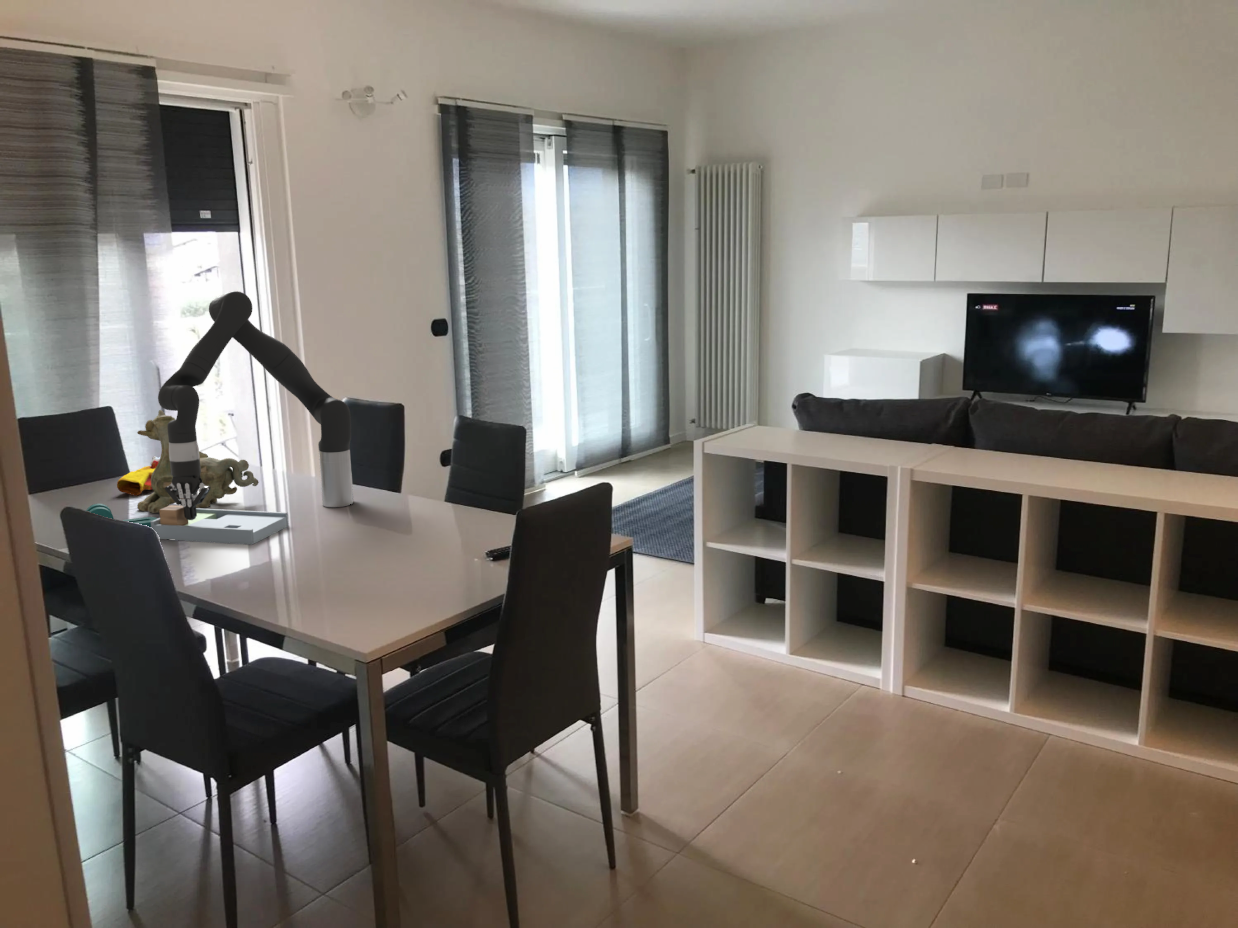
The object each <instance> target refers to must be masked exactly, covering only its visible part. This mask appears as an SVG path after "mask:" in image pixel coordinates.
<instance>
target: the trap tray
mask: <svg viewBox="0 0 1238 928" xmlns="http://www.w3.org/2000/svg"><path fill="white" fill-rule="evenodd" d="M196 512H197V516H196V518H195V519H194V520H188V524H186V525H184V526H181V525H162V524H161V522H160V517H158V518H157V519H155V520H153V521H151V527H152V528H153V529H154V530H155V531H156V532H157V534H158V535H159V537H160V539H175V540H174V541H178V540H185V542H198V543H201V542H202V543H214V542H215V544H217V543H219V544H235V545H249V546H250V545H254V544H256V543H257V542H260V541H262V540H264V539H266V538H268V537H269V536H271V535H274V534H276V533H277V532H280V531H282V530H284V529H285V528H287V527H289V515H288V512H284V511H263V510H259V511H258V510H240V509H225V508H224V509H222V508H221V509H220V508H196ZM160 539H159V540H160Z"/></svg>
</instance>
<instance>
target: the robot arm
mask: <svg viewBox="0 0 1238 928" xmlns="http://www.w3.org/2000/svg"><path fill="white" fill-rule="evenodd" d="M208 312H209V313H208V314H209V316H210V318H211V319H212V321H213V324H212V325H211V326H210V328H209V329H208V330H207V331H206V333H205V334H204V335H203V336H202V337H201V338H200V339H199V340H198V341H197V343H195V345H194V346H193V347H192V348H191V350H190V352H188V355H187V356H186V358H185V360H183V363H182V365H181V366H180V368H179V369H178V370H177V371H175V372H174V373H173V374H172V375H171V376H170V377H169V378H168V379H166V381H165V382H164V383H163V384H162V386H161V387H160V388H159V391H158V395H157V399H158V404H159V406H160V407H161V408H162V409H164V410H166V411H173V412H174V411H177V412H176V418H175V420H172V421H170V422H169V423H168V426H167V429H168V439H169V458H170V468H171V475H172V476H173V478H172V483H171V484H170V485H169V486H167V487H165V490H166V491H167V493H168V494H169V495H170V496H171V498H172V499H173V500H174V501H175V502H176V503H175V504H176V505H177V506H183V507H184V516H185V518H186V520H194V519H195V518H196V516H197V512H196V505H197V504H200V503H202V502H203V500H204V499H205V497H206V495H207V494H208V492H209V491H210V489H211V487H210V486H206V485H204V484H203V483H202V482H203V481H202V479H201V477H200V474H201V466H200V457H199V451H200V448H199V444H198V437H197V430H196V429H197V428H196V425H197V419H198V413H199V408H200V396H199V393H198V391H197V390H196V388H195V387H197V386H200V385H202V384H203V383H205V381H206V380H207V378H208V376H209V375H210V373H211V372H212V369H213V368H214V367H215V364H216V362H217V360H218V359H219V358H220V356H221V355H222V353H223V352H224V349H225V348H226V347H227V345H228V344H229V343H230V341H231V340H232V339H233V340H235V341H236V342H237V343H238V344H240V345H241V346H242V347H243V348H244V349H245V350H246V351H247V352H248V353H249V354H250V355H251V356H252V358H254V359H255V360H256V362H258V363H259V364H260V365H261V366H262V367H263V368H264V369H265V371H267V372H268V374H270V375H271V376H272V378H273V379H275V380H276V381H277V382H278V383H279V384H280V385H281V386H282V387H284V388H285V389H286V390H287V391H288V392H289V393H291V394H292V395H293V396H295V397H296V398H297V399H298V400H299V401H300V403H301V404H302V405H303V406H304V407H305V408H306V410H307V411H308V412H309V413H310V414H311V416H312V417H313V418H314V420H315V421H316V422H317V423H318V424H319V425H320V432H321V433H320V435H321V437H320V439H319V441H318V457H319V459H318V460H319V469H320V471H319V473H320V474H319V475H320V486H321V487H320V489H321V505H322V506H323V507H326V508H342V507H347V506H350V504H351V505H352V504H353V503H354V491H353V490H354V489H353V474H352V462H351V447H350V446H351V444H350V443H351V440H352V420H351V419H352V416H351V411H350V408H349V406H348V404H347V403H345V402H344V401H343V400H341V399H338V398H335V397H333V396H332V395H330V394H329V393H328V392H327V391H325V390H324V388H322V387H321V386H320V385H319V384H318V383H317V382H316V381H315V380H314V378H313V377H312V375H311V374H310V372H309V370H308V368H307V367H306V366H305V364H304V363H303V361H302V360H301V359H300V358H299V357H298V356H297V354H296V353H295V352H293V351H292V350H291V348H290V347H288V345H286V344H285V343H283V342H282V341H280V340H278V339H277V338H275V337H273V336H270V335H269V334H266V333H265V332H263V331H262V330H260V329H259V328H257V327H256V326H255V325H254V324H252V322H251V321H250V320H249V319H250V318H251V316H252V313H253V304H252V300H251V298H249V296H248V295H247V294H245V293H244V292H242V291H238V290H237V291H236V290H234V291H229V292H226V293H224V294H222V295H219V296H216V297H215V298H213V299H212V300H211V301H210V303H209V305H208ZM184 494H185V495H184Z"/></svg>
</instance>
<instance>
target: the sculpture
mask: <svg viewBox="0 0 1238 928" xmlns="http://www.w3.org/2000/svg"><path fill="white" fill-rule="evenodd" d="M172 420H176V418H175V417H173V416H172V415H166V414H165V412H164V411H163V410H161V409H160V410H158V414H157V416H156V417H154V418H153V419H149V420H147V421H146V423H145V426H144V427H145V430H138V431H137V432H136V433H137V434H138V435H141V436H143V437H147V438H149V439H150V440H154V441H160V445H161V454H160V456H159V457H160V460H159V463H158V465H157V467H156V469H155V470H154V471H153V473H152V476H151V487H152V491H153V492H152V493H151V494H149V495H148V496H146V497H145V498H144V499H143V500H141V501H138V503H137V506H136V507H137V510H138V511H142V512H149V513H151V514H160V512H159V510H160V509H162V508H165V507H167V506H170V505H174V504H176V502H175V501H174V500H173V499H172V498H171V496H170V495H169V494H168V493H167V491H166V490H165V487H167V486H169V485H170V484H171V483H172V478H173V476H172V475H171V468H170V458H169V439H168V429H167V426H168V423H169V422H170V421H172ZM199 457H200V466H201V474H200V477H201V479H202V481H203V482H202V483H203V484H204V485H206V486H210V487H211V489H210V491H209V492H208V494H207V495H206V497H205V499H204V500H203V502H202V503H200V504H197V505H196V508H203V509H208V508H209V507H210V506H211V504H213V503H215V502H217V501H218V500H220V499H222V498H224V497H225V495H226V496H227V495H230V496H231V495H233V494H236V493H237V490H238V487H240V488H245V487H248V486H251V485H252V486H253V487H257V486H258V485H259V483H260V481H259V480H258V479H257V478H256V477H255V476H254V473H253V472H252V471H250V470H248V469H249V466H250V465H249V462H248V461H247V460H246V459H240V460H239V461H238V460H237V459H235V458H231V457H227V458H223V459H218V458H215V457H209V456H208V454H206V453H203V452H202V451H200V450H199ZM245 476H246V478H245V479H243V477H245ZM233 482H234V484H235V486H234V487H231V486H230V485H231V484H232V483H233ZM237 486H238V487H237ZM184 495H185V494H184Z"/></svg>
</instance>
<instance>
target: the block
mask: <svg viewBox="0 0 1238 928" xmlns="http://www.w3.org/2000/svg"><path fill="white" fill-rule="evenodd" d="M159 518H160V522H161V524H162V525H181V526H184V525H186V524H188V520H186V518H185V516H184V507H183V506H182V505H177V504H176V505H174V504H171V505H168V506H167V507H165V508H162V509H160V510H159Z"/></svg>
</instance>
